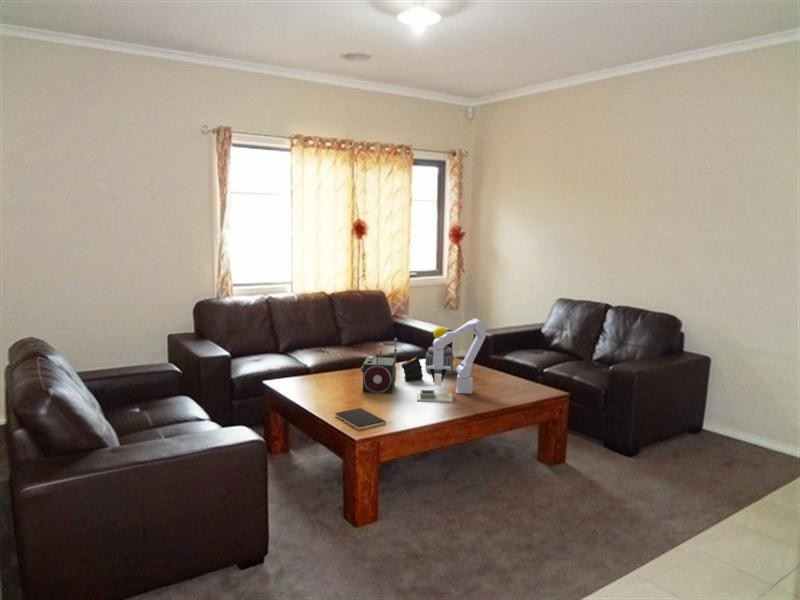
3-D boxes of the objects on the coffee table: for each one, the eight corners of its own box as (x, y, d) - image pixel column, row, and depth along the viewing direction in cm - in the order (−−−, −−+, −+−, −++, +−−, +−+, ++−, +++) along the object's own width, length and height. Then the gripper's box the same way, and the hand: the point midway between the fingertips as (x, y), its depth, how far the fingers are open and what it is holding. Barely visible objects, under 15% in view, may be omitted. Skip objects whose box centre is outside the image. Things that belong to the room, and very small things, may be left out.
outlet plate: (451, 395, 343) (451, 389, 342) (452, 402, 331) (453, 396, 330) (416, 394, 343) (417, 388, 343) (416, 401, 331) (417, 395, 331)
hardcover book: (358, 431, 286) (358, 426, 286) (334, 417, 305) (334, 412, 304) (385, 424, 296) (385, 420, 295) (361, 411, 314) (361, 407, 314)
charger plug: (440, 383, 349) (441, 373, 348) (441, 385, 345) (441, 375, 344) (434, 383, 349) (434, 373, 348) (434, 385, 345) (434, 375, 344)
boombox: (364, 383, 362) (365, 335, 358) (398, 385, 361) (399, 337, 356) (360, 392, 344) (360, 342, 340) (395, 394, 343) (396, 343, 338)
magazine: (427, 377, 372) (418, 357, 368) (409, 388, 369) (400, 367, 365) (425, 376, 376) (416, 355, 371) (407, 386, 372) (398, 366, 368)
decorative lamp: (448, 376, 381) (450, 331, 377) (421, 373, 388) (422, 328, 383) (456, 369, 399) (458, 325, 394) (430, 366, 405) (431, 323, 401)
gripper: (450, 357, 349) (449, 380, 351) (425, 357, 349) (425, 379, 351) (451, 360, 342) (450, 383, 344) (425, 360, 342) (425, 382, 344)
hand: (437, 381), depth 347 cm, fingers closed on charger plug, 4 cm apart
